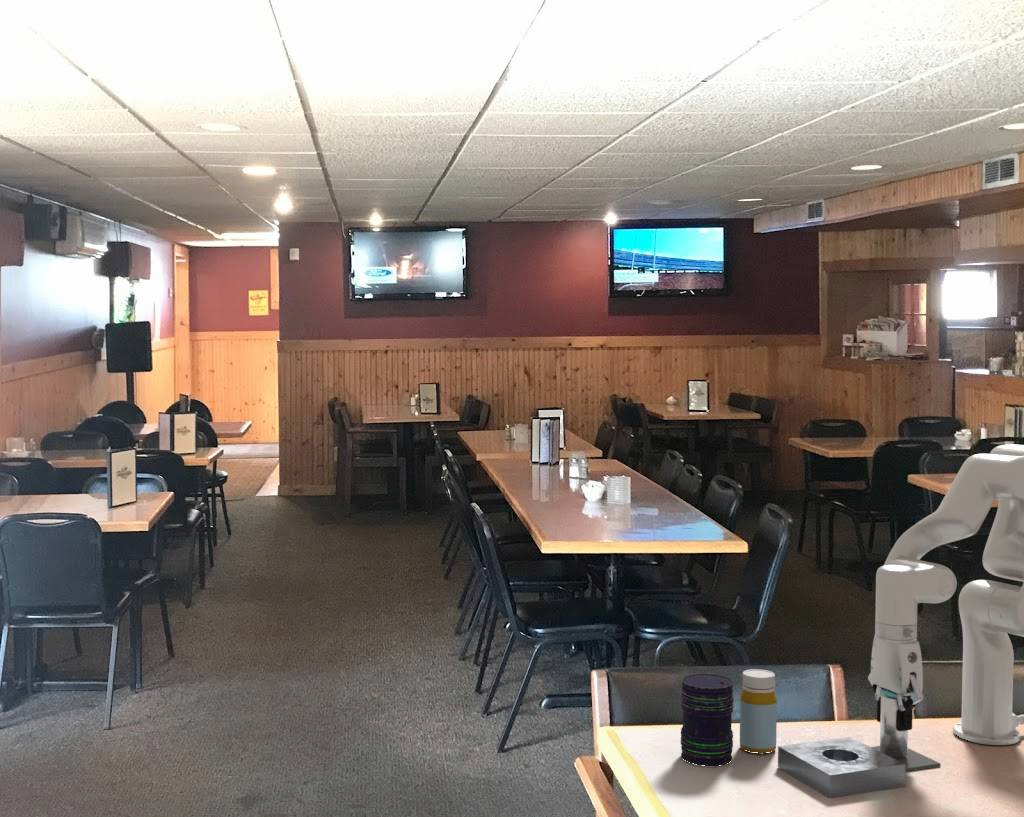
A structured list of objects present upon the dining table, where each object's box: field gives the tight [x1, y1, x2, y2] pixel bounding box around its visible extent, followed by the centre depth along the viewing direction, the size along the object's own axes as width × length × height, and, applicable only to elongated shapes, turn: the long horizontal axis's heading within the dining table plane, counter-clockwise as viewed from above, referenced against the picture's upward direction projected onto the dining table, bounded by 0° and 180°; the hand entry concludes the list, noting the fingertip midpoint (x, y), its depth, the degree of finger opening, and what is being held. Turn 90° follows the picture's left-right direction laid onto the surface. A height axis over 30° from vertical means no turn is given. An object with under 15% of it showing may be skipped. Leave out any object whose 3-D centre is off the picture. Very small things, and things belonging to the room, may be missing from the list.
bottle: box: [739, 668, 778, 753], centre depth 228 cm, size 7×7×15 cm
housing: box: [777, 736, 906, 799], centre depth 214 cm, size 16×16×4 cm
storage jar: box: [680, 673, 734, 767], centre depth 223 cm, size 10×10×15 cm
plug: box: [879, 688, 909, 757], centre depth 223 cm, size 5×5×12 cm
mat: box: [870, 745, 941, 772], centre depth 223 cm, size 12×12×1 cm
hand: (894, 724), depth 223 cm, fingers closed on plug, 4 cm apart
